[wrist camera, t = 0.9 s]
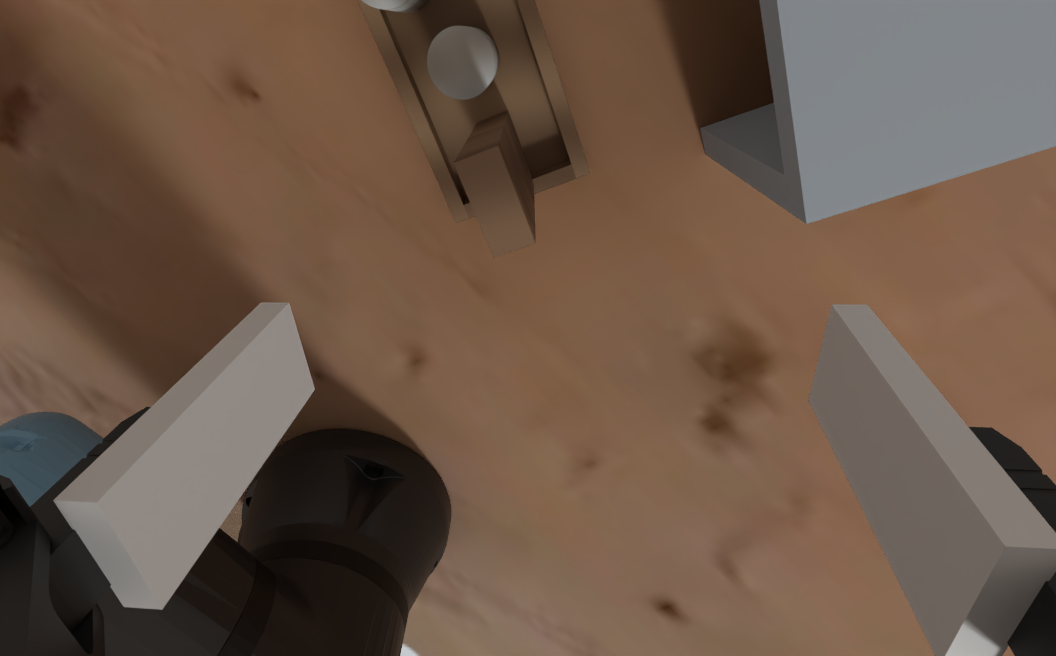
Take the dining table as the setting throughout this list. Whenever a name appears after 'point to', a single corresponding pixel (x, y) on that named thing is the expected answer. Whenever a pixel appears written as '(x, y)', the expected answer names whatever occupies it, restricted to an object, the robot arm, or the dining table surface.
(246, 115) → the dining table surface
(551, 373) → the dining table surface
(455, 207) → the tray
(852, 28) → the grey step stool
